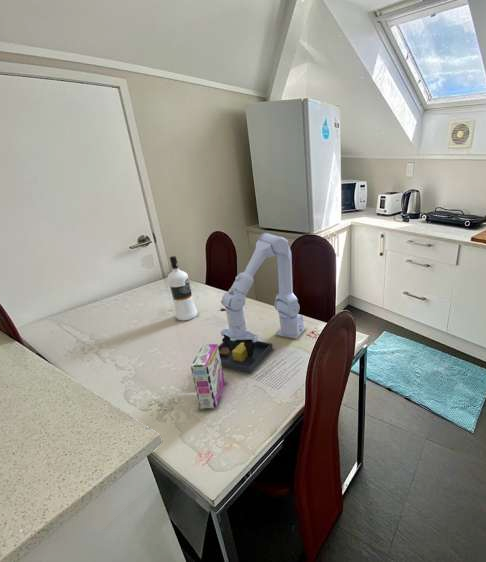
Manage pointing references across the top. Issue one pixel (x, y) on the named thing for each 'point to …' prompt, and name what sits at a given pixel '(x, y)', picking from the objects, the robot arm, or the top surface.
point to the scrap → (224, 352)
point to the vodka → (181, 292)
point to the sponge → (240, 353)
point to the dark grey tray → (250, 362)
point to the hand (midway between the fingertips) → (242, 353)
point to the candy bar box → (208, 376)
